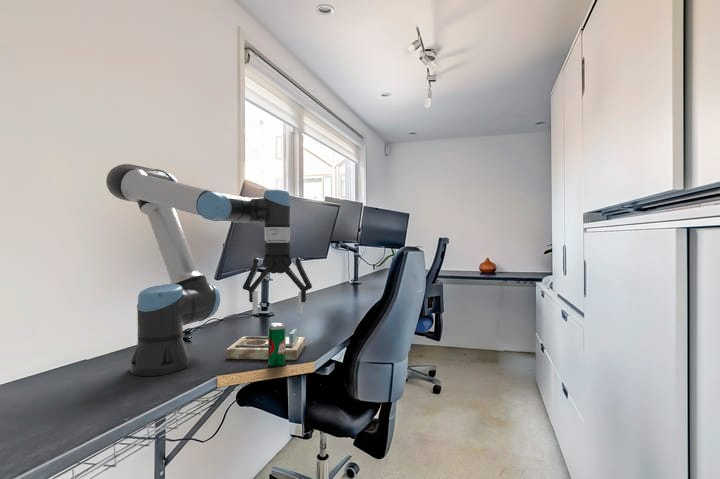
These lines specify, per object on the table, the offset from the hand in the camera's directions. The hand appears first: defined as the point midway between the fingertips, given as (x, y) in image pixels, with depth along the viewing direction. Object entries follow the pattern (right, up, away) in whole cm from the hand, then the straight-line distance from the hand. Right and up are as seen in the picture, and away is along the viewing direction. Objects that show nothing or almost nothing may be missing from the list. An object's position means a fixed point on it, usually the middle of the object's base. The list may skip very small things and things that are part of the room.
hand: (277, 313), depth 116 cm
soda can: (0, -16, 0) cm, 16 cm away
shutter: (-2, -12, +13) cm, 18 cm away
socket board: (-6, -15, +13) cm, 21 cm away
